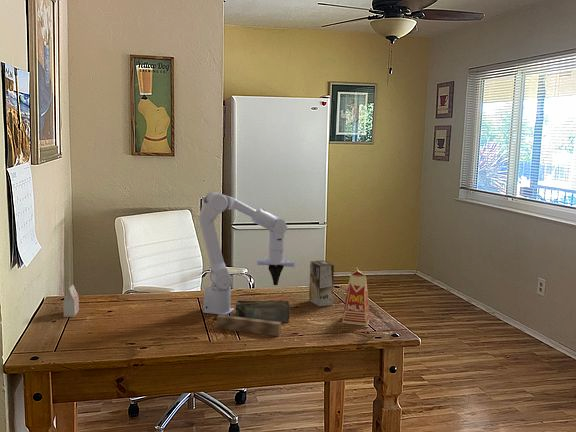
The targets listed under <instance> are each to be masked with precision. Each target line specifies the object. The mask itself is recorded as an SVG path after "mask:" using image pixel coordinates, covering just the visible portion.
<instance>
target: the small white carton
mask: <svg viewBox="0 0 576 432" xmlns="http://www.w3.org/2000/svg"><path fill="white" fill-rule="evenodd" d="M62 305H63V308H62V309H63V318H75V317H76V315H78V313H79V311H80V310H79V309H80V306H79V305H80V304H79V293H78V292H77V290H76V287H75V285H74V284H71V285H70V286H69V288H68V289H67V292H66V294H65V297H64V299H63V302H62Z"/></svg>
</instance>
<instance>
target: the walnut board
mask: <svg viewBox="0 0 576 432" xmlns="http://www.w3.org/2000/svg"><path fill="white" fill-rule="evenodd" d="M216 329H219V330H220V329H221V330H227V331H236V332H243V333H251V334H258V335H268V336H273V337H274V336H276V337H279V336H280V335H282V322H276V321H268V320H260V319H252V318H244V317H235V315H234V316H233V315H228V314H227V315H220V314H217V316H216Z"/></svg>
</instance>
